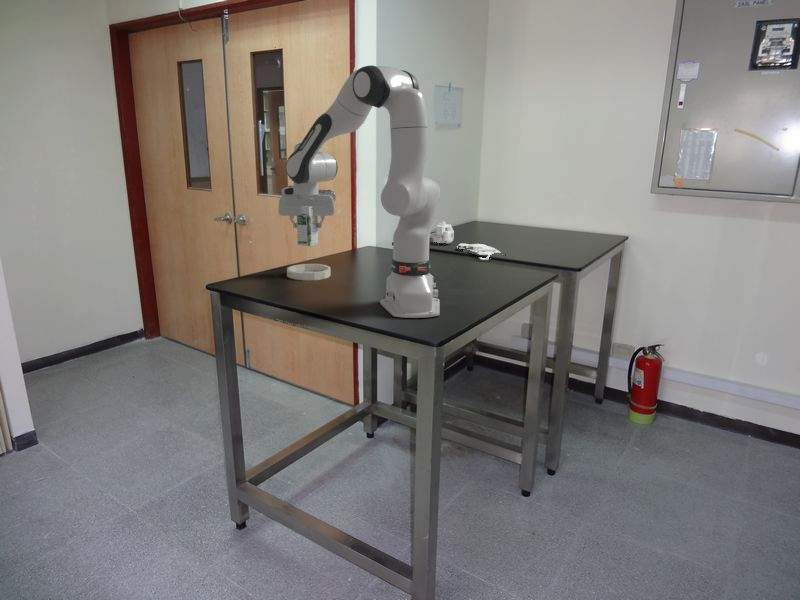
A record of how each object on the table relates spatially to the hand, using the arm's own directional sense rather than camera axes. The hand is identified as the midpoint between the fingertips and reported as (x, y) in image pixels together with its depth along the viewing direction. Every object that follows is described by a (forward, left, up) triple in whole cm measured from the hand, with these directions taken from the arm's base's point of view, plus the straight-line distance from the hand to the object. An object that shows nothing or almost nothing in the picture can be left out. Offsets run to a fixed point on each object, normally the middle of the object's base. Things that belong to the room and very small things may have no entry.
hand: (307, 227), depth 199 cm
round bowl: (0, 0, -18) cm, 18 cm away
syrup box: (0, 0, -6) cm, 6 cm away
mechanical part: (+63, -63, -18) cm, 91 cm away
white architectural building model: (+39, -79, -19) cm, 90 cm away
